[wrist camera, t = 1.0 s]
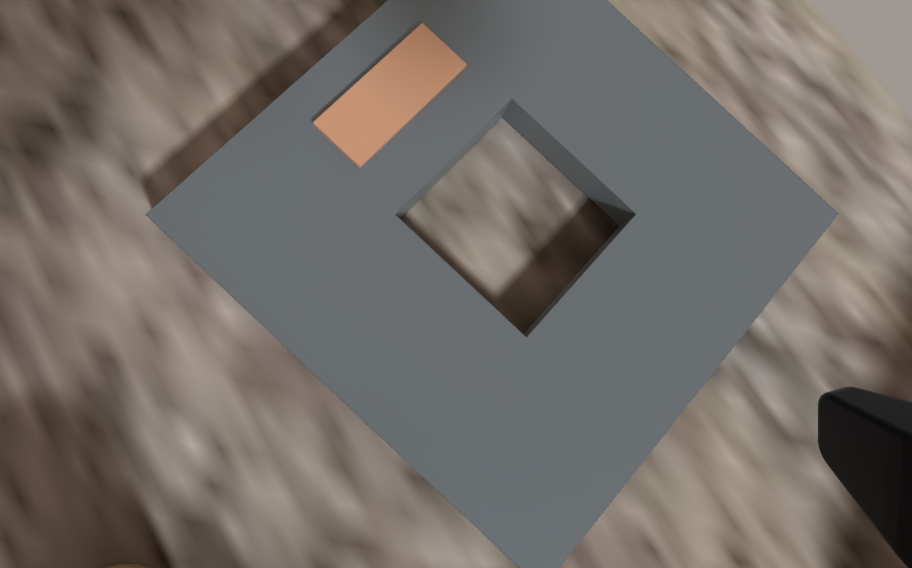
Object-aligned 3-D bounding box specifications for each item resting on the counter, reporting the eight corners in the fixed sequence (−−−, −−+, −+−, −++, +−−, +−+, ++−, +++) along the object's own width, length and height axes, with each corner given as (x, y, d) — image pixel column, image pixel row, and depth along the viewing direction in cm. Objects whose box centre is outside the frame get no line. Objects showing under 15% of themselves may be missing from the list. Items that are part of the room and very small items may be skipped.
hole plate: (529, 577, 21) (544, 591, 20) (159, 227, 22) (143, 212, 20) (810, 225, 25) (842, 212, 23) (491, -70, 25) (500, -103, 24)
